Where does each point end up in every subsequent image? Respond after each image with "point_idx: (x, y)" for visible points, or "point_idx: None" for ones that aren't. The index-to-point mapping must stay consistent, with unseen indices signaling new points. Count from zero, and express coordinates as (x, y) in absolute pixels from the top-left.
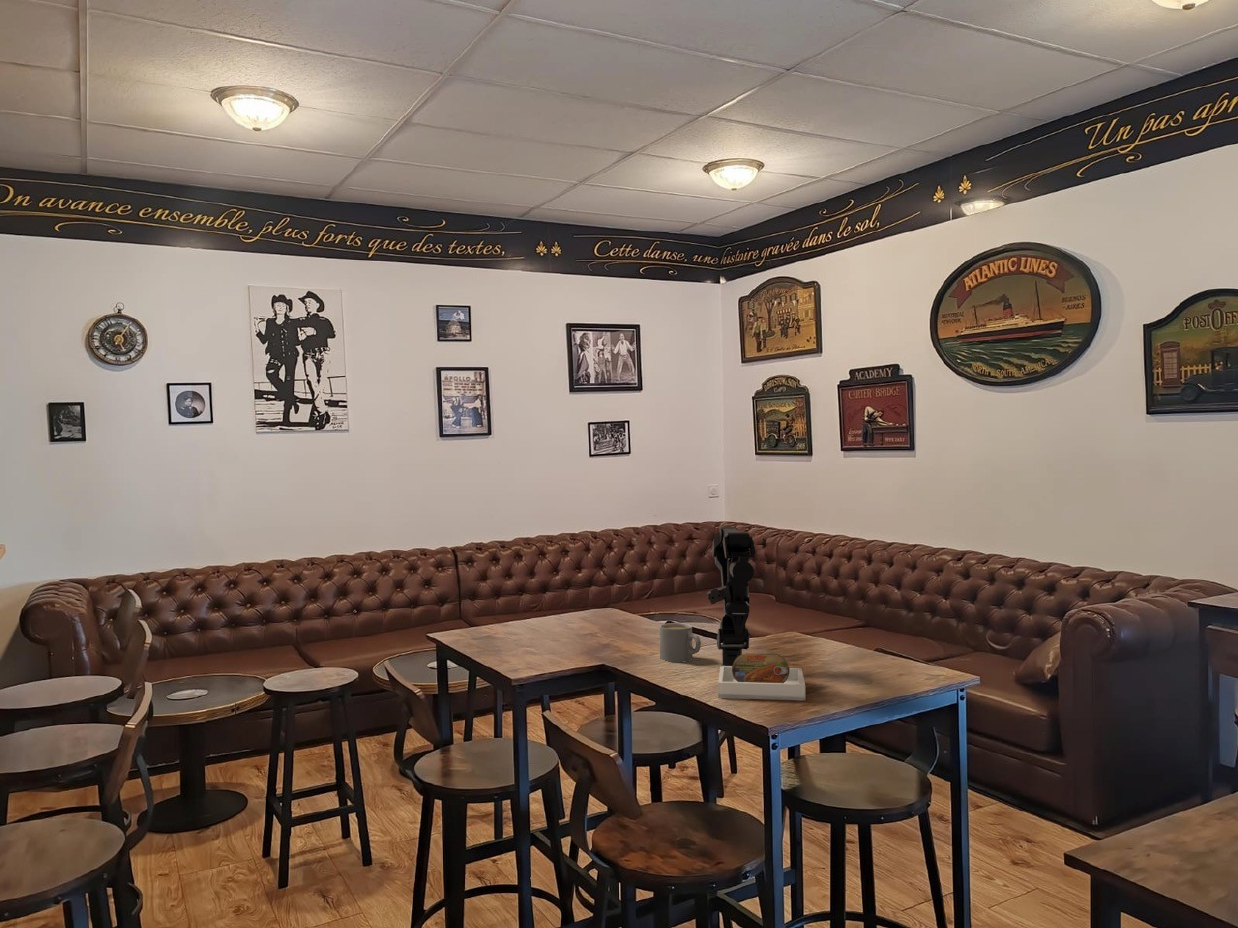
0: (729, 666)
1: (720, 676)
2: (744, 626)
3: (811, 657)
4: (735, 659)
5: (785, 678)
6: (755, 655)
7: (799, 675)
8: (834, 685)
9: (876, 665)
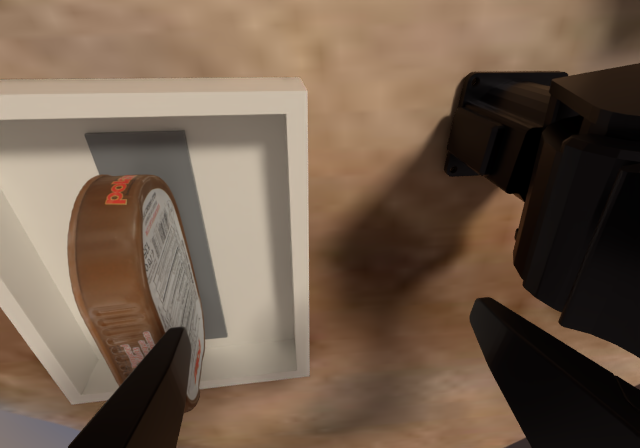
0: (301, 144)
1: (29, 104)
2: (593, 330)
3: (579, 335)
4: (117, 225)
5: None
6: (113, 344)
7: (201, 381)
8: (285, 391)
9: (466, 428)
